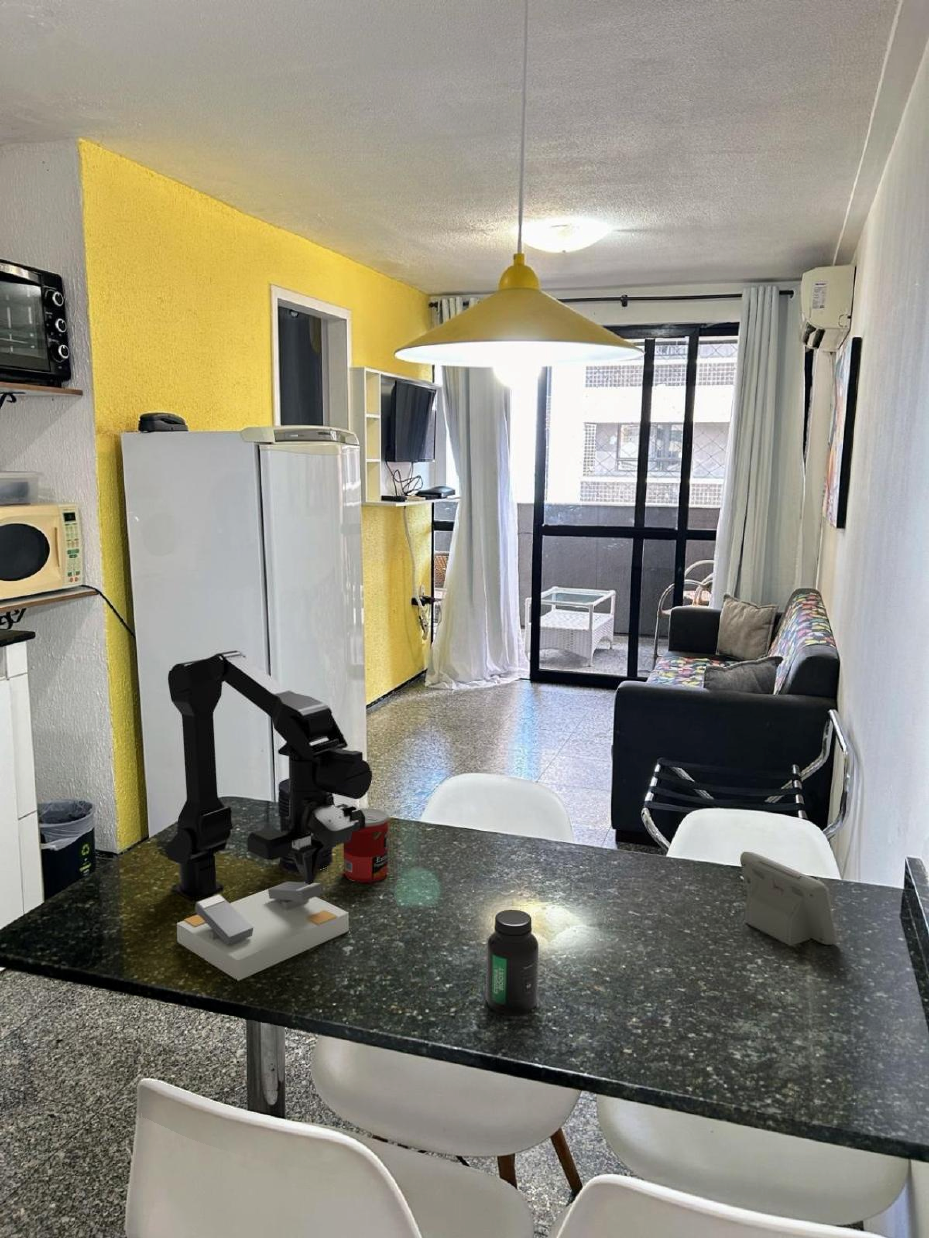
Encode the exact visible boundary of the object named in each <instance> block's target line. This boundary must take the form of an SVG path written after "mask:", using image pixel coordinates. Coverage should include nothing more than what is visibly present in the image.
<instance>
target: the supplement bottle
mask: <svg viewBox="0 0 929 1238" xmlns="http://www.w3.org/2000/svg"><path fill="white" fill-rule="evenodd" d="M494 917H495V918H494V932H492V934H491V935H490V936H489V937H488V939H487V943H486V983H485V984H486V985H485V986H486V989H485V992H486V995H485V996H486V998H485V999H486V1002H487V1005H488V1006H489V1007H490V1008H491V1010H493V1011H494V1012H496V1013H498V1014H502V1015H506V1016H519V1015H520V1016H521V1015H524V1014H525V1015H526V1014H527V1013H529V1012H530V1011H532V1010H533V1009H535V1007H536V1005H537V1003H538V991H539V990H538V988H539V987H538V986H539V983H538V981H539V980H538V979H539V949H540V948H539V942H538V939H537V937H536V936H535V935H534V934H533V933H532V931H533V928H532V927H533V926H532V921H533V919H532V917H531V915H530V914H529V913H527V912H525V911H523V910H519V909H506V910H501V911H500V912H498V913H496V915H495V916H494Z"/></svg>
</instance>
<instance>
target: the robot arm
mask: <svg viewBox="0 0 929 1238" xmlns="http://www.w3.org/2000/svg"><path fill="white" fill-rule="evenodd" d="M167 682H168V683H167V684H168V689H169V695H170V700H171V702H172V703H173V705H174V707H175V708H176V710H177V711H178V712H179V713H180V715H181V720H182V721H181V723H182V738H183V755H184V773H185V774H184V776H185V790H186V801H185V803H184V804H183V806H182V808H181V811H180V812H179V815H178V818H177V829H176V830H177V831H176V832H177V833H176V835H175V836H174V837H173V838H172V839H171V840H170V841H169V842H168V844H167V845H166V846H165V852H166V856H167V860H168V861H171V862H173V863H174V862H175V863H177V864H178V868H179V869H178V870H179V883H176V884H173V885H171V890H173V891H174V892H176V893H178V894H179V895H181V896H183V897H185V898H186V899H188V900H190V901H193V900H195V899H199V898H200V897H204V896H208V895H209V894H212V893H215V892H218V891H221V890H223V889H224V888H225V886H224V885H225V884H223V883H221V882H219V881H217V867H216V856H215V854H216V853H219V852H222V851H224V850H226V846H227V844H228V839H229V838H230V837H231V832H232V830H233V829H234V827H233V822H232V808H231V806H229V805H228V806H227V805H225V804H224V803H223V802H222V800H221V799H220V798H219V794H218V779H217V762H216V744H215V724H214V712H215V710H216V707H217V706H218V703H219V702H220V699H221V698H222V693H223V692H222V691H223V690H222V689H223V683H224V682H225V683H226V684H227V685H229V686H230V687H232V688H233V689H234V690H235V691H237V692H238V693H239V694H241V695H242V696H243V697H244V698H246V699H247V700H249V701H250V702H251V703H252V704H254V705H255V706H256V707H257V708H259V710H262V711H263V712H264V713H266V714H267V716H269V717H270V718H271V722H272V724H273V729H274V730H275V732H276V733H278V734H279V735H280V737H281V738H282V739H283V740H284V741H285V744H284V745H282V746H281V747H280V748H279V749H278V750H277V754H278V755H282V756H286V757H288V778H289V790H288V791H285V792H284V798H285V799H288V800H289V816H288V817H285V818H284V824H286V825H288V826H290V829H289V830H286V831H280V829H276V828H274V827H273V826H268V827H265V828H262V829H259V830H255V831H253V832H251V833H250V834H249V835H248V836H247V842H246V843H247V845H246V846H247V847H246V848H247V849H246V850H247V852H249V853H251V854H254V855H256V856H259V857H260V858H262V859H265V860H267V861H275V860H277V859H280V858H281V857H284V856H287V855H288V854H289V853H290V855H291V856H292V858H293V860H294V862H295V863H296V866H297V868H298V870H299V872H300V873H299V874H300V875H301V876H300V877H302V880H303V882H305V883H306V884H308V885H310V884H313V883H315V880H316V877H317V874H318V872H319V871H318V868H319V866H320V863H321V860H322V857H323V855H324V853H325V851H326V849H327V848H335V847H337V846H339V845H341V844H342V845H343V843H348V842H349V841H350V839H351V835H352V832H356V831H358V830H361V829H364V828H365V826H366V824H365V815H364V813H363V812H362V810H361V808H360V807H359V806H358V805H357V804H354V803H353V804H352V805H349V804H345V803H340V804H338V805H336V804H335V797H334V795H337V796H341V797H345V798H349V799H353V800H359V799H362V798H363V797H364V796H365V795H366V794H367V793H368V791H369V789H370V786H371V785H372V780H373V771H372V770H371V767H370V765H369V763H368V762H367V761H366V760H364V759H363V752H362V751H359V750H349V749H346V748H348V742H347V741H346V738H345V736H344V734H343V732H342V731H341V729H340V728H339V726H338V724H337V722H336V720H335V717H334V716H333V715H332V714H333V712H332V709H331V708H330V706H329V705H328V704H326V703H325V702H322V701H320V700H318V699H316V698H314V697H312V696H310V695H309V696H308V695H305V694H301V693H296V692H294V691H291V690H290V689H288V688H287V687H285V686H284V685H283V684H281V683H280V682H279V681H278V680H276V679H274V678H273V677H272V676H271V675H269V674H268V673H267V672H265V671H264V670H262V669H261V668H260V667H258V666H257V665H256V664H254V663H253V662H251V661H250V660H249V659H247V657H246V655H245V654H244V652H241V651H238V650H230V651H224V652H218V653H215V654H214V655H212V656H210V657H207V658H204V659H203V658H202V659H196V660H192V661H187V662H185V661H184V662H181V663H176V664H174V665H173V666H172V668H171V669H170V670H168V674H167ZM323 739H328V740H324V741H321V742H319V743H314V742H317V741H320V740H323ZM311 743H314V744H312V745H311Z"/></svg>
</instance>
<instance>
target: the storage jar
mask: <svg viewBox="0 0 929 1238" xmlns="http://www.w3.org/2000/svg"><path fill="white" fill-rule="evenodd" d="M277 787H278V788H277V789H278V798H277V799H278V800H277V805H278V810H277V812H278V816H279V819H280V821H279V823H280V824H279V826H280V828H279V830H280V831H286V830H289V829H290V826H288V825H286V824H284V818H285V817H288V816H289V800H288V799H285V798H284V792H285V791H288V790H289V777H288V778H286V779H283V780H282V781H280V782H279V783H278V786H277ZM333 848H334V847H333ZM333 848H327V849H326V851H325V853H324V855H323V857H322V860H321V863H320V866H319V868H318V870H320V869H323V868H325V867H327V866H329V865H330V863H331V862H332V863H333V856H332V855H333ZM280 866H281V867H280ZM330 866H331V865H330ZM330 866H329V867H330ZM279 867H280V868H281V869H282V870H284V869H285V870H284V871H286V870H287V872H290V873H294V874H295V873H299V874H300V872H299V870H298V868H297V866H296V863H295V862H294V860H293V858H292V856H291V855H290V853H289V854H288V855H287V856H284V857H281V858H279ZM327 868H328V867H327ZM325 869H326V868H325ZM323 870H324V869H323ZM320 871H321V870H320Z"/></svg>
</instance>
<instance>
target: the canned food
mask: <svg viewBox="0 0 929 1238" xmlns="http://www.w3.org/2000/svg"><path fill="white" fill-rule="evenodd" d="M360 809H361V810H362V812H363V813H364V815H365V824H366V826H365V828H364V829H361V830H358V831H356V832H352V835H351V839H350V841H349V842H348V843H342V845H343V847H342V848H343V872H344V876H345V878H347V879H348V880H350V879H351V880H350V881H352V880H354V881H353V882H355V881H357V882H356V883H362V882H366V883H365V884H368V883H375V882H379V881H381V880H383V879H384V878H385V877H386V876H387V874H388V871H389V816H388V813H387V812H385V811H384V810H380V809H377V808H370V807H368V808H367V807H366V808H365V807H363V808H362V807H361V808H360ZM378 880H379V881H378ZM367 882H368V883H367Z"/></svg>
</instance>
